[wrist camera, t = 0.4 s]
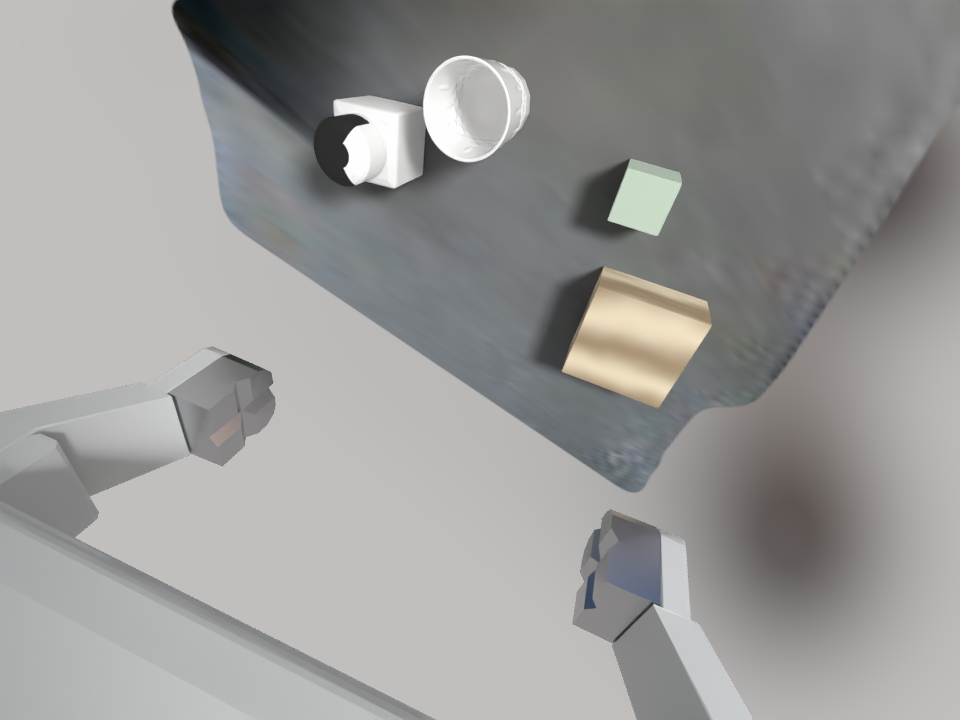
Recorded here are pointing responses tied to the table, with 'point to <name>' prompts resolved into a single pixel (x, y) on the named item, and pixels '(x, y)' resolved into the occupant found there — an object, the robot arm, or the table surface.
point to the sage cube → (645, 197)
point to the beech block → (636, 337)
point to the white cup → (474, 106)
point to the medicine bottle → (371, 142)
